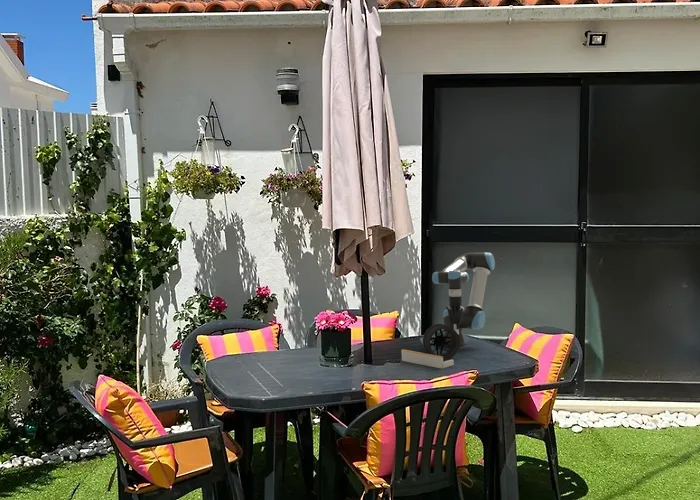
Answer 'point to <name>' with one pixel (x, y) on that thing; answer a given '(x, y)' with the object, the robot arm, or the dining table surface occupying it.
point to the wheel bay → (425, 359)
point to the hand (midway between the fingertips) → (456, 334)
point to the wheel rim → (441, 341)
